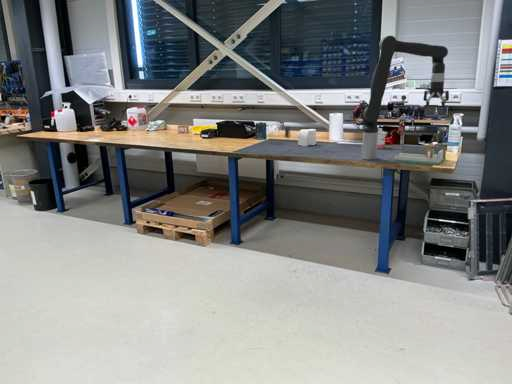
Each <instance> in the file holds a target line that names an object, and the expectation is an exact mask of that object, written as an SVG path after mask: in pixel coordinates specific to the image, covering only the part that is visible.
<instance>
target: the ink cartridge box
mask: <svg viewBox="0 0 512 384" xmlns="http://www.w3.org/2000/svg"><path fill="white" fill-rule="evenodd" d="M385 142H386V131H383V128H381V127H378V143H377V149H384V148H385V145H386V143H385Z"/></svg>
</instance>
